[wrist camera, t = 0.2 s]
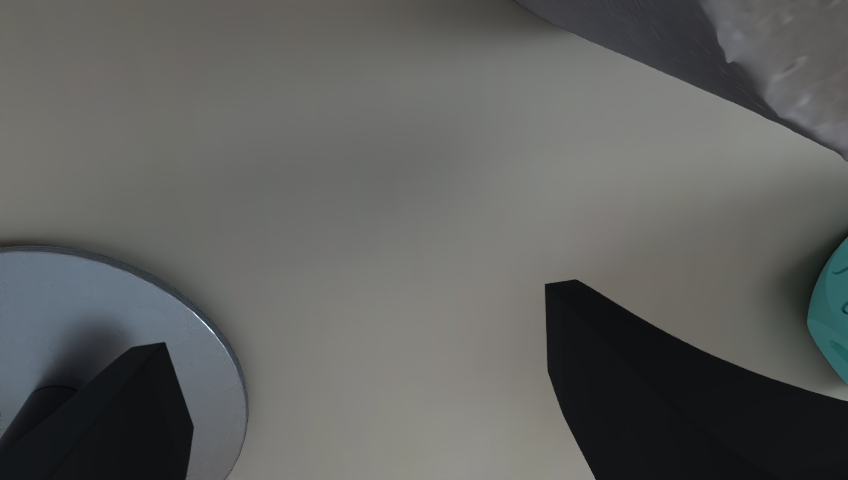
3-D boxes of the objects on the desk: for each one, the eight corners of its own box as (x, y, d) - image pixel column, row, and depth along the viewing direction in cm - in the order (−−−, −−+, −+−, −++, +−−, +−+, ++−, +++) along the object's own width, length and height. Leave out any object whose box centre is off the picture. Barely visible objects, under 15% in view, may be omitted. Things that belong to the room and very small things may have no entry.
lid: (281, 490, 27) (267, 619, 22) (-33, 543, 26) (-123, 689, 21) (202, 210, 21) (158, 295, 16) (-198, 268, 21) (-373, 376, 16)
